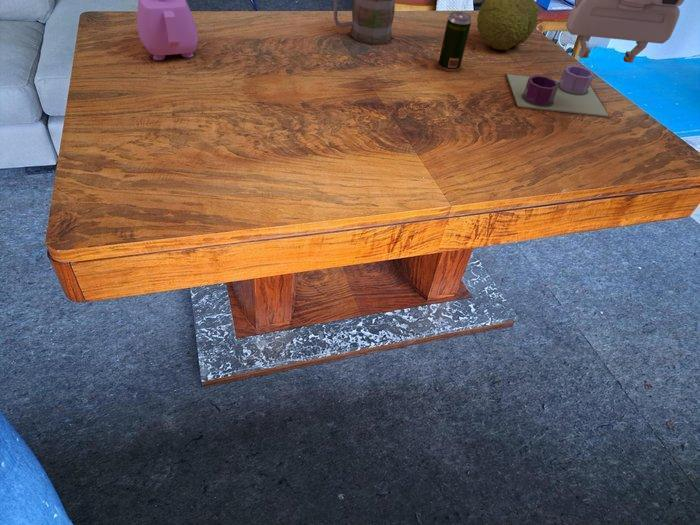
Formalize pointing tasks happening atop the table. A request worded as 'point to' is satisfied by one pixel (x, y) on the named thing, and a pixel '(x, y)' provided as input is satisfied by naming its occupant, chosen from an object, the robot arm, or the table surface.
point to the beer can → (454, 41)
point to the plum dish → (540, 90)
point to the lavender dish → (576, 79)
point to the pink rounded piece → (166, 28)
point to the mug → (370, 20)
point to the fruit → (506, 22)
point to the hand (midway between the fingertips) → (605, 59)
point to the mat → (559, 99)
